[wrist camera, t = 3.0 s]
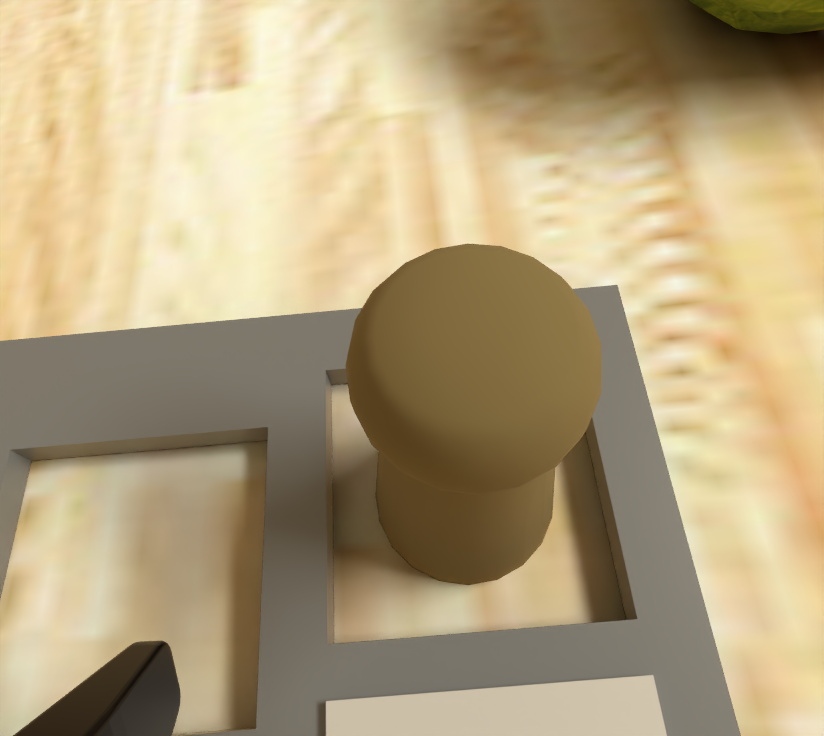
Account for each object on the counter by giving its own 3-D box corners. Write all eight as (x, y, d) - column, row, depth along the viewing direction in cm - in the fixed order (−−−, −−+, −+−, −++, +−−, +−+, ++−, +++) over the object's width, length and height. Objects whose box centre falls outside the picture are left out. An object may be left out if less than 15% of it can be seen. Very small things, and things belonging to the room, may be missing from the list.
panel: (739, 795, 17) (764, 804, 15) (-129, 861, 17) (-178, 876, 16) (609, 302, 24) (619, 280, 23) (6, 357, 24) (-20, 338, 23)
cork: (406, 392, 23) (372, 173, 13) (569, 435, 22) (665, 229, 12) (350, 552, 20) (257, 428, 10) (532, 610, 19) (617, 531, 9)
